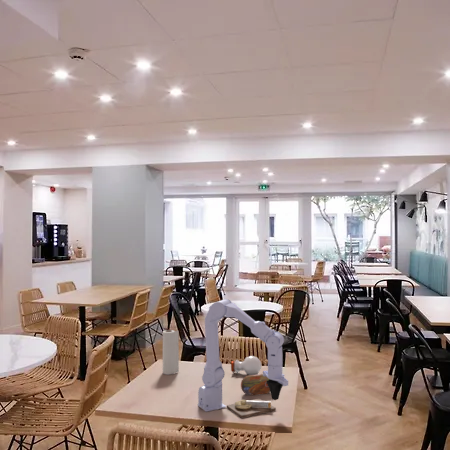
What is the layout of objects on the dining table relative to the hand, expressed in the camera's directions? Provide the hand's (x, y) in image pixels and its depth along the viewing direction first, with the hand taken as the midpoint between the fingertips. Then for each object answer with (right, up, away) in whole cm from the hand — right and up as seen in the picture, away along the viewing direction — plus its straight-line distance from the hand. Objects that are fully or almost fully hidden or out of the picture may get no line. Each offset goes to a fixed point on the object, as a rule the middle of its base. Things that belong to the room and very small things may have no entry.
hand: (275, 399), depth 183 cm
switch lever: (-8, -5, +6) cm, 12 cm away
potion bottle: (-9, -7, +52) cm, 53 cm away
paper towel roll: (-48, -7, +54) cm, 73 cm away
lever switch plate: (-9, -7, +7) cm, 13 cm away
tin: (-5, -7, +25) cm, 27 cm away
